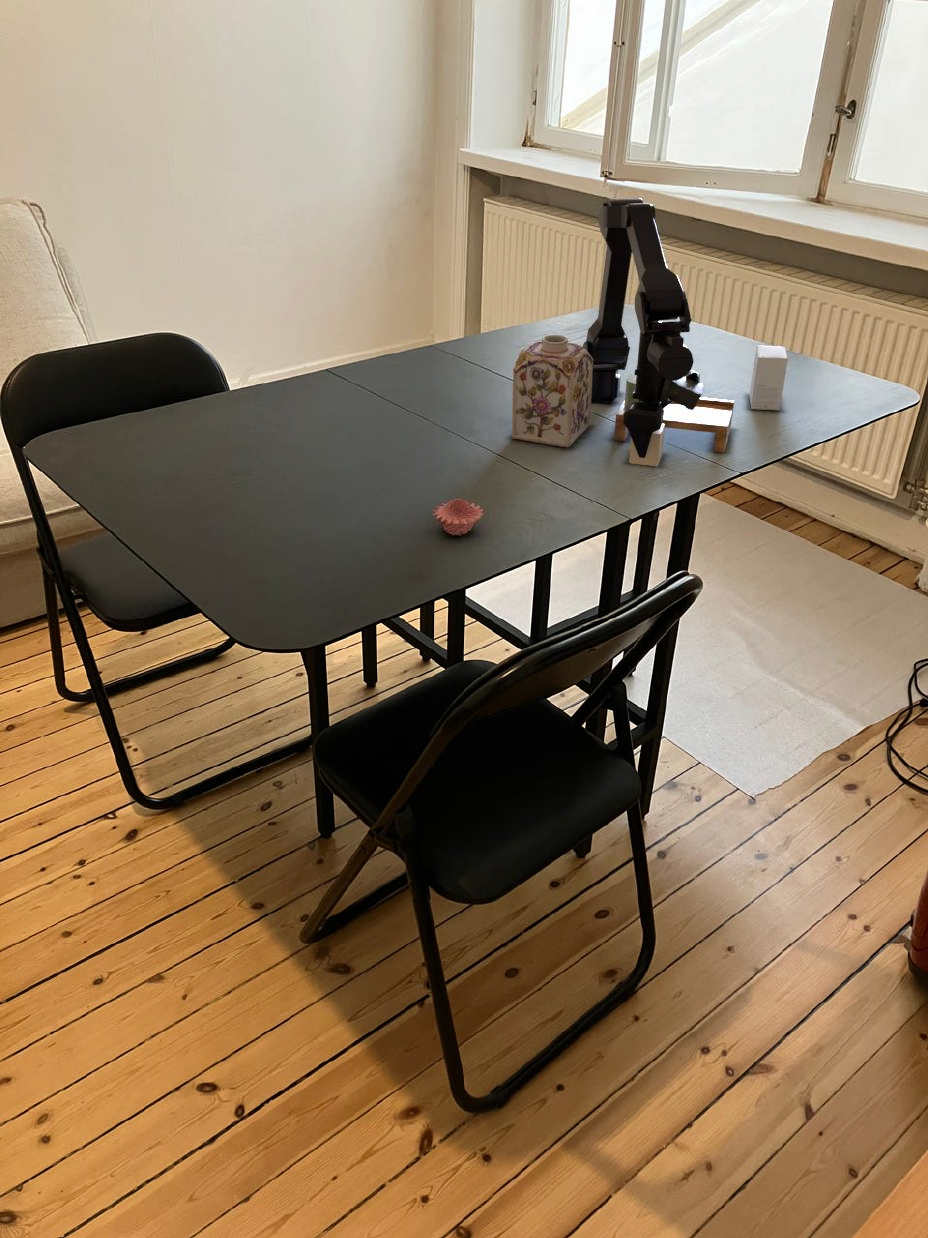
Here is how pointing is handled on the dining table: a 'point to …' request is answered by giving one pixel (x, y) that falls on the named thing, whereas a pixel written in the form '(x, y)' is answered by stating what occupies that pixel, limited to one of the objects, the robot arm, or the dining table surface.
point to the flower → (458, 516)
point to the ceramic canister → (630, 390)
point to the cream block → (649, 450)
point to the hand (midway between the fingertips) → (646, 447)
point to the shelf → (691, 419)
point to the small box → (768, 377)
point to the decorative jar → (552, 392)
